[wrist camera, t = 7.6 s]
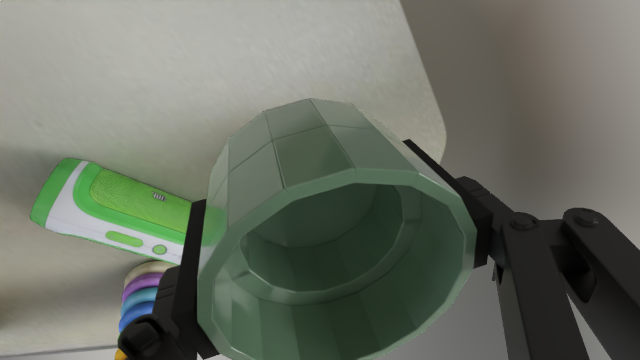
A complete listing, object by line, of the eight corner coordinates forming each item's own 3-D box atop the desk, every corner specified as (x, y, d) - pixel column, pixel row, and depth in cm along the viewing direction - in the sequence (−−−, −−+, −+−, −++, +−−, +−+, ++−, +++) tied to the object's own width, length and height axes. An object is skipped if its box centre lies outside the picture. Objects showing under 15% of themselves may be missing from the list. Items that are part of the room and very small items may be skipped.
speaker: (236, 204, 40) (237, 245, 34) (209, 245, 43) (205, 289, 36) (77, 140, 32) (40, 178, 26) (55, 194, 35) (16, 241, 28)
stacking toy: (149, 306, 46) (108, 472, 30) (113, 272, 41) (42, 446, 26) (201, 285, 46) (186, 439, 31) (170, 249, 42) (134, 407, 26)
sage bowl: (389, 71, 15) (489, 127, 9) (400, 228, 20) (467, 326, 15) (174, 129, 14) (133, 233, 8) (247, 277, 20) (253, 402, 14)
